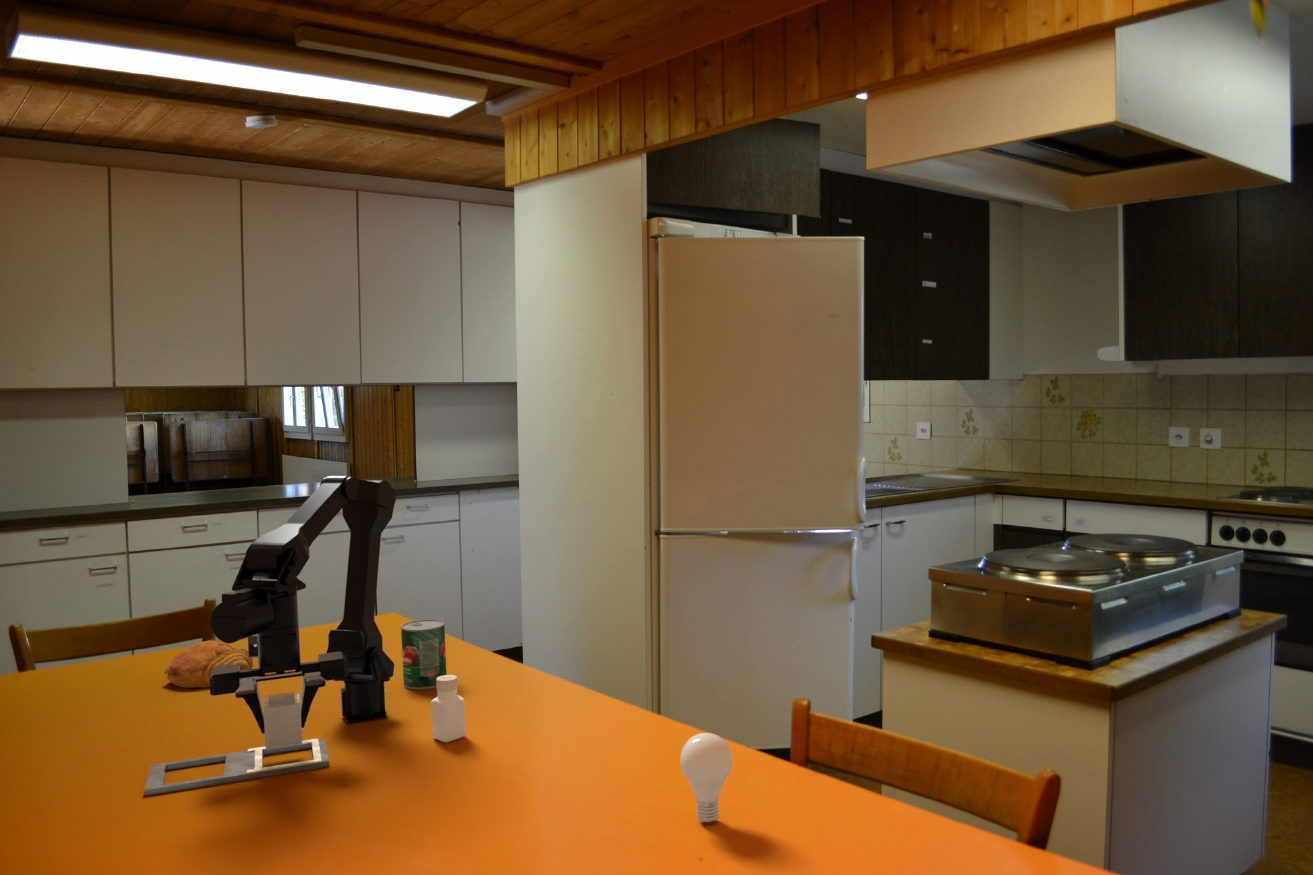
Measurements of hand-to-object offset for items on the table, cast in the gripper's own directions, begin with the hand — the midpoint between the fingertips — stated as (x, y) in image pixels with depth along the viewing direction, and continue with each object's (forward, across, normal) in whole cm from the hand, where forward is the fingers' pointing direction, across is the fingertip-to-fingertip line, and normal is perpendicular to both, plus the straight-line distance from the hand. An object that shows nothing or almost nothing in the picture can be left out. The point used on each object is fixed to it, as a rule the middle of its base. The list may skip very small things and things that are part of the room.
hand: (283, 729), depth 145 cm
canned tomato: (+5, -25, -30) cm, 39 cm away
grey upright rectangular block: (+2, 0, 0) cm, 2 cm away
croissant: (+5, +13, -53) cm, 54 cm away
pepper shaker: (+5, -24, +1) cm, 24 cm away
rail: (+5, +6, 0) cm, 8 cm away
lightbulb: (+5, -48, +45) cm, 66 cm away
